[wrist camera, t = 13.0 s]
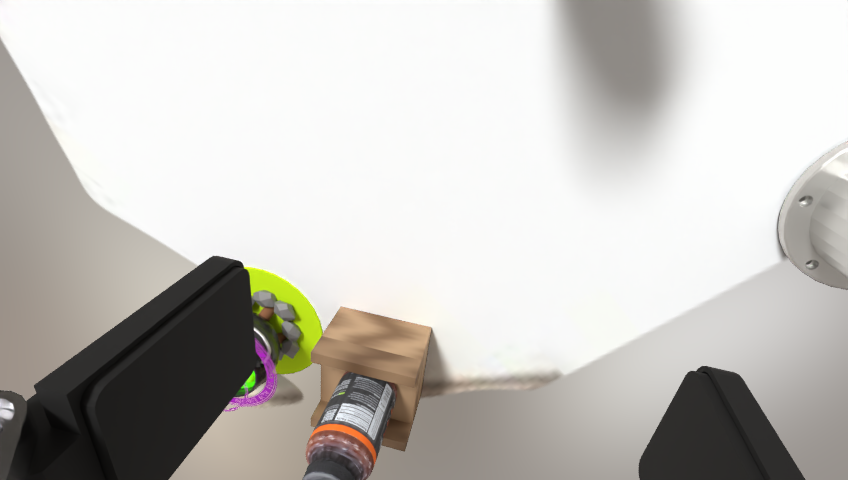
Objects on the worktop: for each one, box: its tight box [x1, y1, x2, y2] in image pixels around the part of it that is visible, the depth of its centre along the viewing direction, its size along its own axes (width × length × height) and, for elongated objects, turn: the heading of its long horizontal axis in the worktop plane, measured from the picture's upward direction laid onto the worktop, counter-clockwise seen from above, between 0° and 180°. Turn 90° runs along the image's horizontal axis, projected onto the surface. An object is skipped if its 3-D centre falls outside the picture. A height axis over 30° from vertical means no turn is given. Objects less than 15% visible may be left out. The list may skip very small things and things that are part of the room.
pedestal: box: [311, 307, 431, 451], centre depth 44 cm, size 10×10×7 cm
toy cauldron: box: [226, 267, 323, 411], centre depth 45 cm, size 15×15×11 cm
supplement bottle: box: [303, 371, 397, 480], centre depth 38 cm, size 6×6×11 cm
